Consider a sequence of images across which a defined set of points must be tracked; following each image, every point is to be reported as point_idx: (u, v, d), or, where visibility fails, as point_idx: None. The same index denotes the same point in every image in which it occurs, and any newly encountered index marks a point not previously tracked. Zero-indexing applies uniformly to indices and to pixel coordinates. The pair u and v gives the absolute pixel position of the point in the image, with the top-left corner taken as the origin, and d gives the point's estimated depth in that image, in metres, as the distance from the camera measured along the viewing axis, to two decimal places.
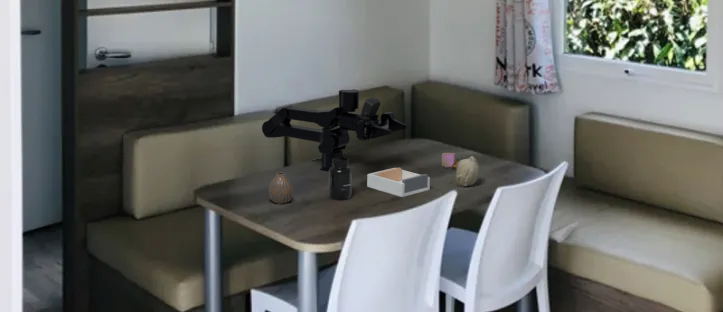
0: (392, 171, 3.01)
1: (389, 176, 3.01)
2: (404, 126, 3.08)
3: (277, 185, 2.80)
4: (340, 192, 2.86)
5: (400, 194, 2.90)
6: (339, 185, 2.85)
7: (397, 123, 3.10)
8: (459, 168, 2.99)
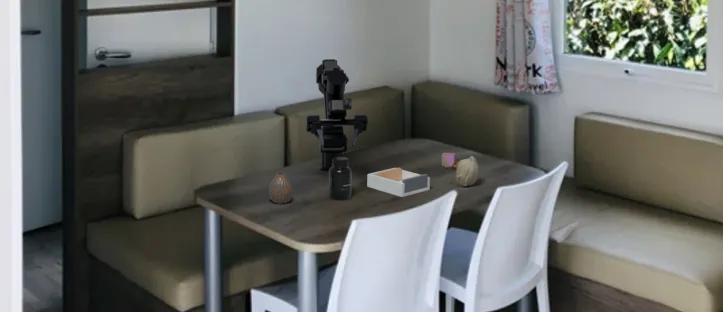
0: (392, 171, 3.01)
1: (389, 176, 3.01)
2: (352, 144, 2.95)
3: (277, 185, 2.80)
4: (340, 192, 2.86)
5: (400, 194, 2.90)
6: (339, 185, 2.85)
7: (353, 135, 2.96)
8: (459, 168, 2.99)
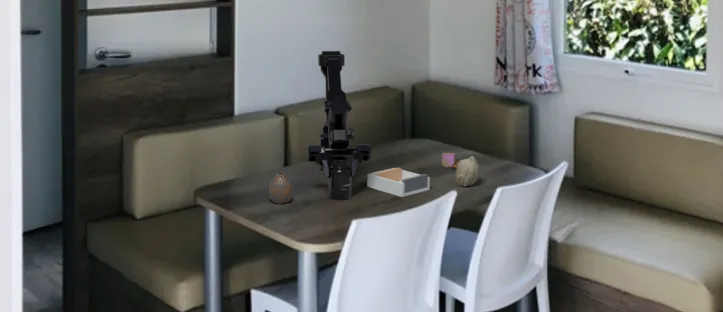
0: (392, 171, 3.01)
1: (389, 176, 3.01)
2: None
3: (277, 185, 2.80)
4: (340, 192, 2.86)
5: (400, 194, 2.90)
6: (339, 185, 2.85)
7: (352, 166, 2.88)
8: (459, 168, 2.99)
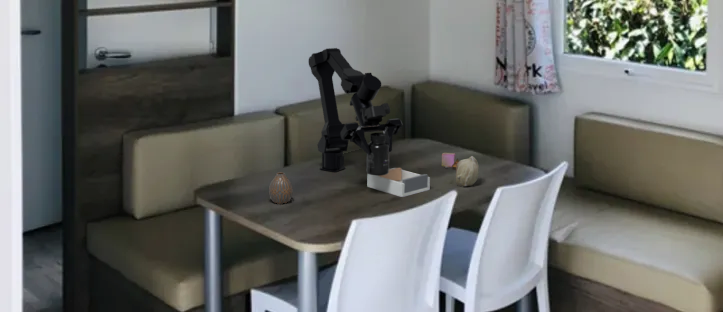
0: (392, 171, 3.01)
1: (389, 176, 3.01)
2: (389, 150, 2.90)
3: (277, 185, 2.80)
4: (382, 168, 2.87)
5: (400, 194, 2.90)
6: (381, 161, 2.87)
7: (388, 141, 2.91)
8: (459, 168, 2.99)
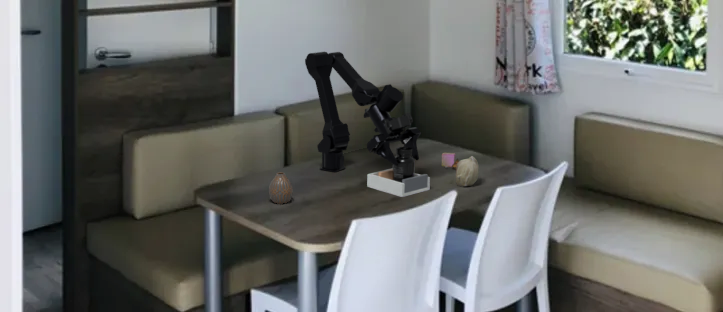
0: (392, 171, 3.01)
1: (389, 176, 3.01)
2: (416, 158, 2.98)
3: (277, 185, 2.80)
4: None
5: (400, 194, 2.90)
6: (410, 174, 2.94)
7: (413, 149, 2.98)
8: (459, 168, 2.99)
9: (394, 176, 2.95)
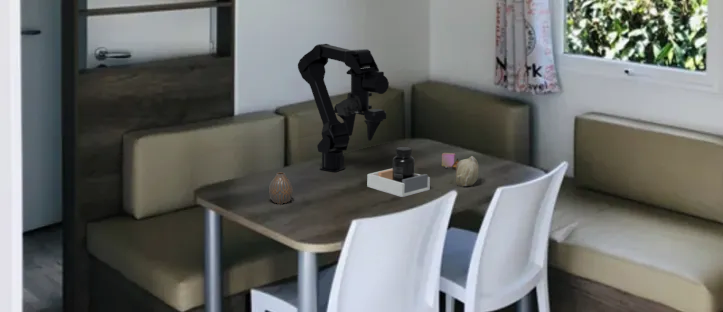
0: (392, 171, 3.01)
1: (389, 176, 3.01)
2: None
3: (277, 185, 2.80)
4: None
5: (400, 194, 2.90)
6: (410, 174, 2.94)
7: None
8: (459, 168, 2.99)
9: (394, 176, 2.95)
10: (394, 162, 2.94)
